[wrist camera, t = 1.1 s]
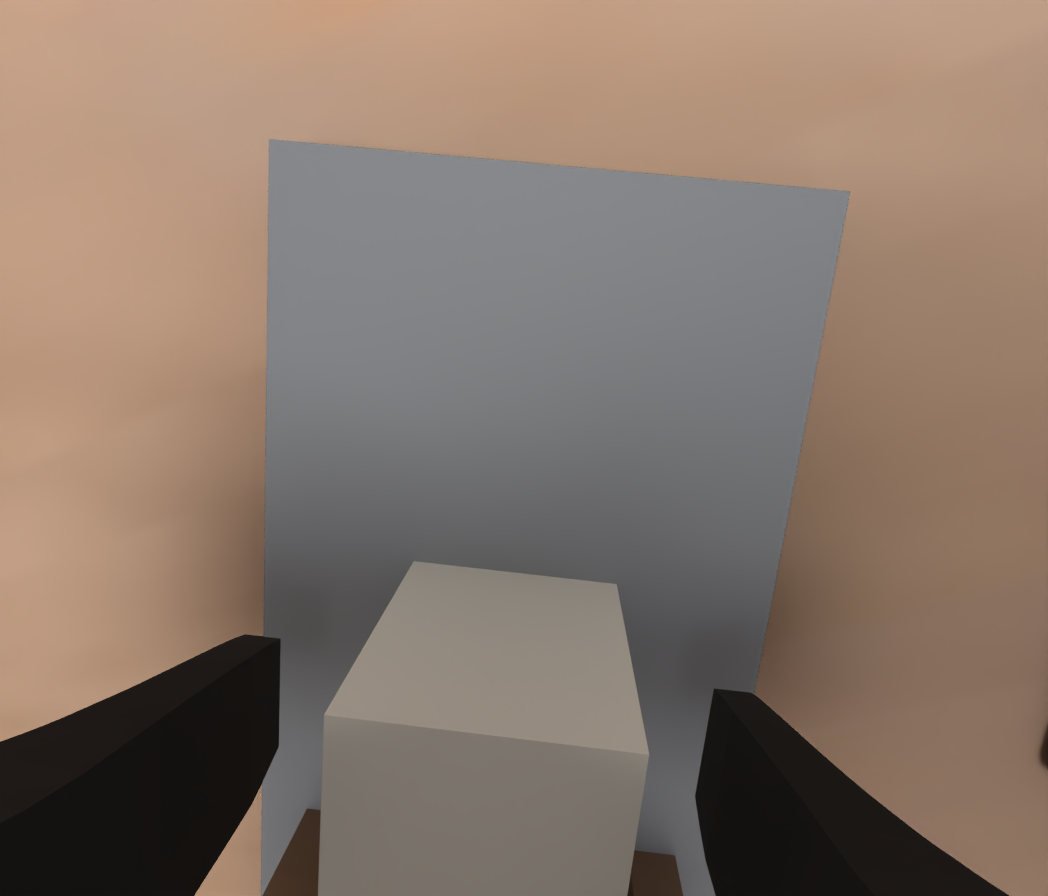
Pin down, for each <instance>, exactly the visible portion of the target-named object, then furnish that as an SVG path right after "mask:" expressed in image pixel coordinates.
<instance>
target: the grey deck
mask: <svg viewBox="0 0 1048 896" xmlns="http://www.w3.org/2000/svg"><path fill="white" fill-rule="evenodd" d="M849 195H850V191H839V190H828V189H817V188H806V187H795V186H784V185H773V184H761V183H750V182H739V181H728V180H717V179H706V178H695V177H684V176H672V175H661V174H650V173H639V172H628V171H617V170H606V169H595V168H583V167H572V166H561V165H550V164H539V163H528V162H517V161H506V160H494V159H483V158H472V157H461V156H450V155H439V154H428V153H417V152H405V151H394V150H383V149H372V148H361V147H350V146H339V145H328V144H316V143H305V142H294V141H283V140H272V139H269V187H268V280H267V373H266V467H265V560H264V637H271V638H280V639H281V650H280V708H279V747H278V749H277V752H276V754H275V756H274V758H273V760H272V763H271V765H270V767H269V769H268V771H267V774H266V776H265V778H264V780H263V782H262V840H261V896H263V894H264V892H265V890H266V888H267V886H268V884H269V882H270V880H271V878H272V876H273V874H274V872H275V870H276V868H277V866H278V864H279V862H280V860H281V858H282V856H283V854H284V852H285V850H286V848H287V846H288V845H289V843H290V841H291V839H292V837H293V835H294V833H295V831H296V829H297V827H298V825H299V823H300V821H301V819H302V817H303V815H304V813H305V811H306V809H315V810H321V787H322V757H323V727H324V714H325V712H326V710H327V709H328V707H329V705H330V704H331V702H332V700H333V698H334V697H335V695H336V693H337V692H338V690H339V688H340V686H341V685H342V683H343V681H344V680H345V678H346V676H347V675H348V673H349V671H350V669H351V668H352V666H353V664H354V663H355V661H356V659H357V657H358V656H359V654H360V652H361V651H362V649H363V647H364V645H365V644H366V642H367V640H368V639H369V637H370V635H371V633H372V632H373V630H374V628H375V627H376V625H377V623H378V622H379V620H380V618H381V616H382V615H383V613H384V611H385V610H386V608H387V606H388V604H389V603H390V601H391V599H392V598H393V596H394V594H395V592H396V591H397V589H398V587H399V586H400V584H401V582H402V580H403V579H404V577H405V575H406V574H407V572H408V570H409V569H410V567H411V565H412V563H413V562H414V561H417V562H426V563H435V564H444V565H453V566H461V567H470V568H479V569H488V570H497V571H506V572H515V573H523V574H532V575H541V576H550V577H559V578H568V579H577V580H585V581H594V582H603V583H612V584H617V588H618V594H619V599H620V604H621V609H622V615H623V620H624V625H625V630H626V636H627V641H628V646H629V651H630V656H631V662H632V667H633V672H634V677H635V683H636V688H637V693H638V698H639V704H640V709H641V714H642V719H643V725H644V730H645V735H646V740H647V746H648V751H649V759H648V766H647V772H646V779H645V785H644V791H643V798H642V804H641V811H640V817H639V823H638V830H637V836H636V843H635V849H634V850H636V851H644V852H652V853H660V854H667V855H675V857H676V862H677V867H678V872H679V877H680V882H681V887H682V892H683V896H716V895H715V892H714V888H713V885H712V882H711V878H710V875H709V871H708V867H707V864H706V860H705V855H704V849H703V844H702V838H701V832H700V826H699V820H698V813H697V807H696V800H695V793H696V787H697V782H698V776H699V770H700V764H701V759H702V753H703V747H704V742H705V736H706V730H707V725H708V719H709V713H710V707H711V702H712V696H713V690H714V688H715V689H724V690H732V691H741V692H750V693H753V694H754V693H755V687H756V682H757V677H758V672H759V666H760V661H761V656H762V651H763V645H764V640H765V635H766V630H767V624H768V619H769V614H770V609H771V604H772V598H773V593H774V588H775V583H776V577H777V572H778V567H779V562H780V556H781V551H782V546H783V541H784V535H785V530H786V525H787V520H788V515H789V509H790V504H791V499H792V494H793V488H794V483H795V478H796V473H797V467H798V462H799V457H800V452H801V446H802V441H803V436H804V431H805V426H806V420H807V415H808V410H809V405H810V399H811V394H812V389H813V384H814V378H815V373H816V368H817V363H818V357H819V352H820V347H821V342H822V337H823V331H824V326H825V321H826V316H827V310H828V305H829V300H830V295H831V289H832V284H833V279H834V274H835V268H836V263H837V258H838V253H839V248H840V242H841V237H842V232H843V227H844V221H845V216H846V211H847V206H848V200H849Z"/></svg>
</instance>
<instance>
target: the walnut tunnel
mask: <svg viewBox="0 0 1048 896" xmlns="http://www.w3.org/2000/svg"><path fill="white" fill-rule="evenodd" d="M320 817H321V810H315V809H306V811H305V813H304V815H303V817H302V819H301V821H300V823H299V825H298V827H297V829H296V831H295V833H294V835H293V837H292V839H291V841H290V843H289V845H288V846H287V848H286V850H285V852H284V854H283V856H282V858H281V860H280V862H279V864H278V866H277V868H276V870H275V872H274V874H273V876H272V878H271V880H270V882H269V884H268V886H267V888H266V890H265V892H264V894H263V896H318V877H319V847H320ZM627 896H683V892H682V887H681V882H680V877H679V872H678V867H677V862H676V857H675V855H667V854H660V853H652V852H644V851H636V850H634V856H633V862H632V868H631V875H630V881H629V888H628V894H627Z"/></svg>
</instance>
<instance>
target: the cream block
mask: <svg viewBox="0 0 1048 896" xmlns="http://www.w3.org/2000/svg"><path fill="white" fill-rule="evenodd" d="M648 759H649V751H648V746H647V740H646V735H645V730H644V725H643V719H642V714H641V709H640V704H639V698H638V693H637V688H636V683H635V677H634V672H633V667H632V662H631V656H630V651H629V646H628V641H627V636H626V630H625V625H624V620H623V615H622V609H621V604H620V599H619V594H618V588H617V584H612V583H603V582H594V581H585V580H577V579H568V578H559V577H550V576H541V575H532V574H523V573H515V572H506V571H497V570H488V569H479V568H470V567H461V566H453V565H444V564H435V563H426V562H417V561H414V562H413V563H412V565H411V567H410V569H409V570H408V572H407V574H406V575H405V577H404V579H403V580H402V582H401V584H400V586H399V587H398V589H397V591H396V592H395V594H394V596H393V598H392V599H391V601H390V603H389V604H388V606H387V608H386V610H385V611H384V613H383V615H382V616H381V618H380V620H379V622H378V623H377V625H376V627H375V628H374V630H373V632H372V633H371V635H370V637H369V639H368V640H367V642H366V644H365V645H364V647H363V649H362V651H361V652H360V654H359V656H358V657H357V659H356V661H355V663H354V664H353V666H352V668H351V669H350V671H349V673H348V675H347V676H346V678H345V680H344V681H343V683H342V685H341V686H340V688H339V690H338V692H337V693H336V695H335V697H334V698H333V700H332V702H331V704H330V705H329V707H328V709H327V710H326V712H325V714H324V727H323V757H322V787H321V817H320V847H319V877H318V896H627V894H628V888H629V881H630V875H631V868H632V862H633V856H634V849H635V843H636V836H637V830H638V823H639V817H640V811H641V804H642V798H643V791H644V785H645V779H646V772H647V766H648Z"/></svg>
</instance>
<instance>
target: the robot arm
mask: <svg viewBox="0 0 1048 896" xmlns="http://www.w3.org/2000/svg"><path fill="white" fill-rule="evenodd" d="M280 650H281V639H280V638H271V637H262V636H254V635H242V636H240V637H237V638H234V639H232V640H230V641H227V642H225V643H223V644H221V645H219V646H216V647H214V648H212V649H210V650H208V651H206V652H204V653H202V654H200V655H198V656H196V657H194V658H192V659H189V660H187V661H185V662H183V663H181V664H179V665H177V666H175V667H173V668H171V669H169V670H167V671H165V672H163V673H161V674H159V675H156V676H154V677H152V678H150V679H148V680H146V681H144V682H142V683H140V684H138V685H136V686H134V687H132V688H129V689H127V690H125V691H123V692H120V693H118V694H116V695H114V696H111V697H109V698H107V699H104V700H102V701H100V702H98V703H95V704H93V705H91V706H89V707H86V708H84V709H82V710H80V711H77V712H75V713H73V714H71V715H68V716H66V717H64V718H61V719H59V720H56V721H54V722H51V723H49V724H47V725H44V726H41V727H39V728H36V729H34V730H31V731H29V732H26V733H23V734H21V735H18V736H15V737H12V738H10V739H7V740H4V741H1V742H0V896H194V895H195V893H196V892H197V890H198V889H199V887H200V885H201V884H202V882H203V881H204V879H205V878H206V876H207V875H208V873H209V871H210V870H211V868H212V867H213V865H214V864H215V862H216V860H217V859H218V857H219V856H220V854H221V853H222V851H223V849H224V848H225V846H226V845H227V843H228V841H229V840H230V838H231V837H232V835H233V834H234V832H235V830H236V829H237V827H238V826H239V824H240V822H241V821H242V819H243V818H244V816H245V814H246V813H247V811H248V809H249V808H250V806H251V804H252V802H253V800H254V798H255V796H256V794H257V792H258V790H259V788H260V786H261V784H262V782H263V780H264V778H265V776H266V774H267V771H268V769H269V767H270V765H271V763H272V760H273V758H274V756H275V754H276V752H277V749H278V747H279V708H280ZM695 800H696V807H697V813H698V820H699V826H700V832H701V838H702V844H703V849H704V855H705V860H706V864H707V867H708V871H709V875H710V878H711V882H712V885H713V888H714V892H715V895H716V896H1009V895H1007V894H1006V893H1004V892H1003V891H1001V890H1000V889H998V888H997V887H995V886H993V885H992V884H990V883H989V882H987V881H986V880H984V879H983V878H981V877H980V876H978V875H977V874H976V873H974V872H973V871H971V870H970V869H968V868H967V867H965V866H964V865H963V864H961V863H960V862H958V861H957V860H955V859H954V858H952V857H951V856H950V855H948V854H947V853H945V852H944V851H942V850H941V849H940V848H938V847H937V846H935V845H934V844H932V843H931V842H930V841H928V840H927V839H926V838H924V837H923V836H922V835H920V834H919V833H917V832H916V831H915V830H913V829H912V828H911V827H909V826H908V825H907V824H906V823H904V822H903V821H902V820H901V819H899V818H898V817H897V816H895V815H894V814H893V813H892V812H890V811H889V810H888V809H887V808H885V807H884V806H883V805H882V804H880V803H879V802H878V801H877V800H875V799H874V798H873V797H871V796H870V795H869V794H868V793H867V792H865V791H864V790H863V789H862V788H861V787H859V786H858V785H857V784H856V783H855V782H853V781H852V780H851V779H850V778H849V777H847V776H846V775H845V774H844V773H843V772H842V771H840V770H839V769H838V768H837V767H836V766H835V765H834V764H832V763H831V762H830V761H829V760H828V759H827V758H826V757H824V756H823V755H822V754H821V753H820V752H819V751H818V750H817V749H815V748H814V747H813V746H812V745H811V744H810V743H809V742H808V741H806V740H805V739H804V738H803V737H802V736H801V735H800V734H799V733H798V732H796V731H795V730H794V729H793V728H792V727H791V726H790V725H789V724H788V723H787V722H785V721H784V720H783V719H782V718H781V717H780V716H779V715H778V714H776V713H775V712H774V711H773V710H772V709H771V708H770V707H769V706H767V705H766V704H765V703H764V702H763V701H761V700H760V699H759V698H758V697H756V696H755V695H754V694H753V693H750V692H741V691H732V690H724V689H715V688H714V690H713V696H712V702H711V707H710V713H709V719H708V725H707V730H706V736H705V742H704V747H703V753H702V759H701V764H700V770H699V776H698V782H697V787H696V793H695Z"/></svg>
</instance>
